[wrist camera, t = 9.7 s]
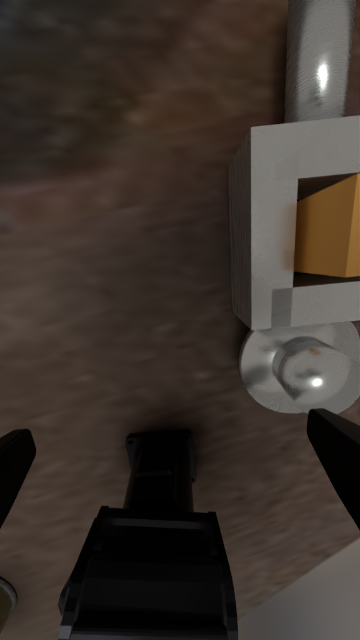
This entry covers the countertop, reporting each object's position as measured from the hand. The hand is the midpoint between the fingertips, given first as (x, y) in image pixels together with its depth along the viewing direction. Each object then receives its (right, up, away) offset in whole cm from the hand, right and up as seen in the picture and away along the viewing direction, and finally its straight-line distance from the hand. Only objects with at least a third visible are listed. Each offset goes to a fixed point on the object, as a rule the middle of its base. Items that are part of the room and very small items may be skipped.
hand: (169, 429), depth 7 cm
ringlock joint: (+9, +10, +10) cm, 16 cm away
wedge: (+9, +10, +10) cm, 16 cm away
